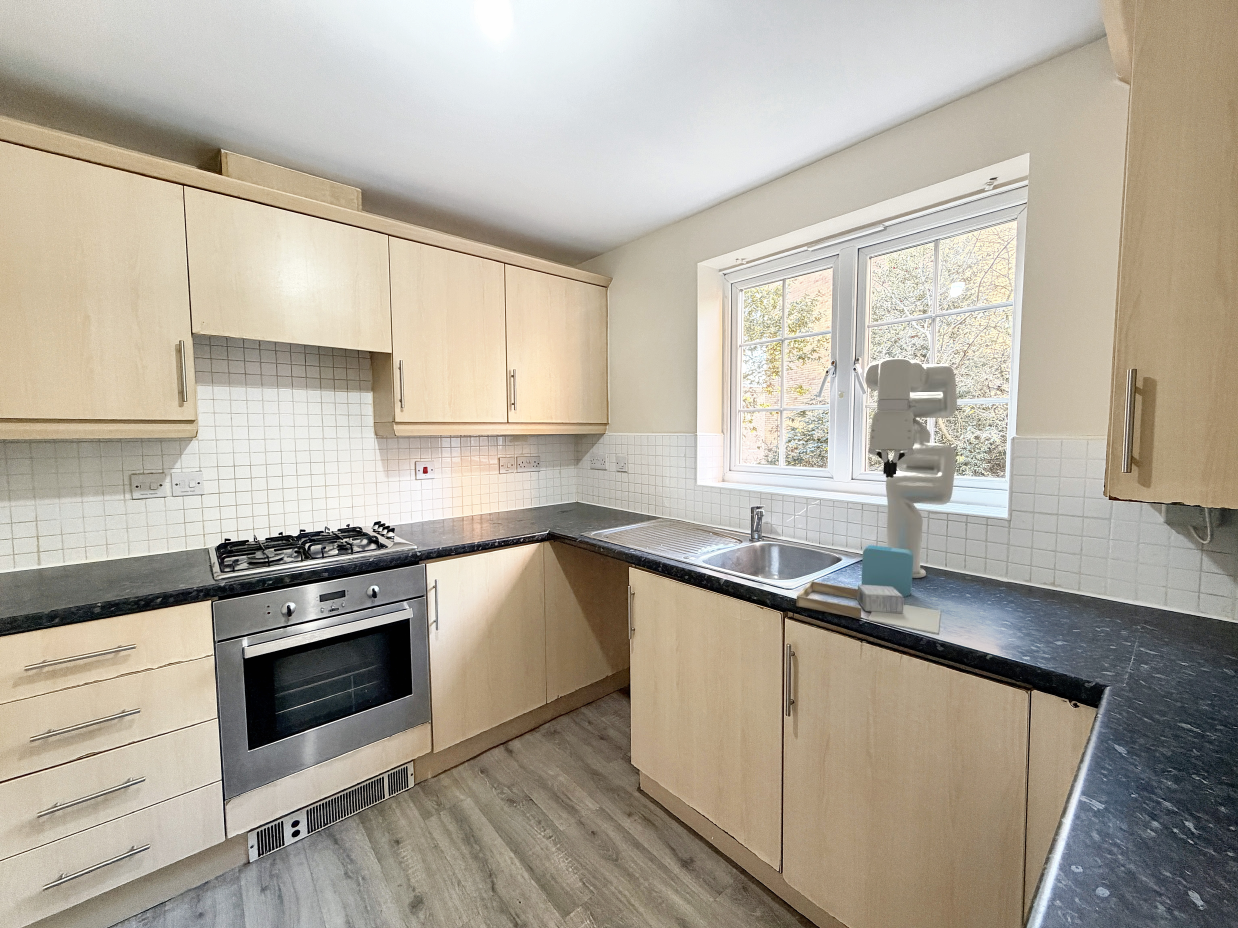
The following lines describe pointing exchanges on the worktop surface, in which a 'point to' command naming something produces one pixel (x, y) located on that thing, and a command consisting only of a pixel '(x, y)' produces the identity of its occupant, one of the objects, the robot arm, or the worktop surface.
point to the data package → (888, 568)
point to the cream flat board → (910, 618)
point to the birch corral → (827, 605)
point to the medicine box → (880, 599)
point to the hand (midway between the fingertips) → (889, 477)
